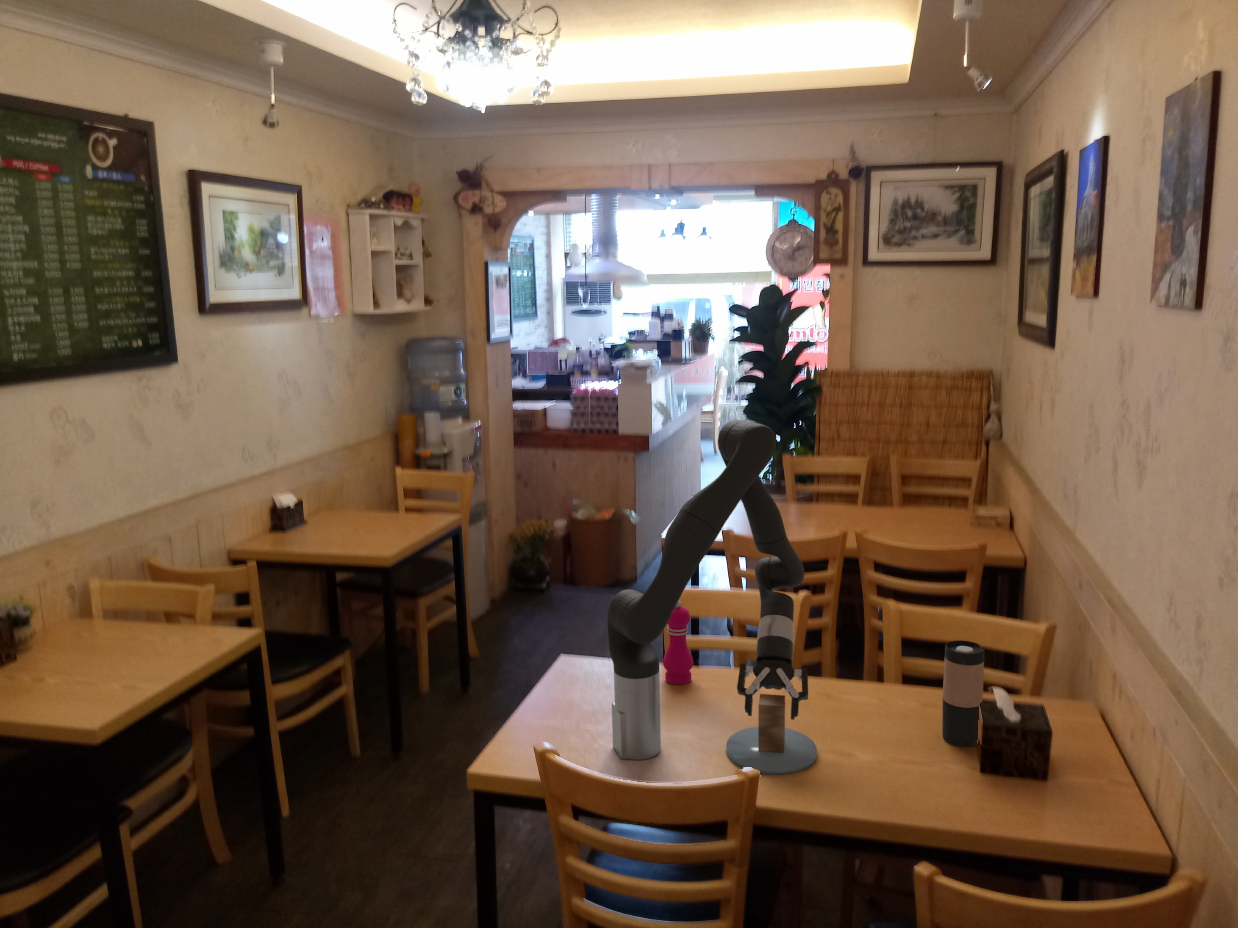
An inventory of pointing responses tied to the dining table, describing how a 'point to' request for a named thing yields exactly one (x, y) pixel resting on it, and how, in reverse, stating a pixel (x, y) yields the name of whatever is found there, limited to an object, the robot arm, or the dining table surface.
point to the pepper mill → (678, 648)
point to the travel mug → (962, 692)
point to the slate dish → (794, 759)
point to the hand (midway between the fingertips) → (771, 716)
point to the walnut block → (771, 723)
